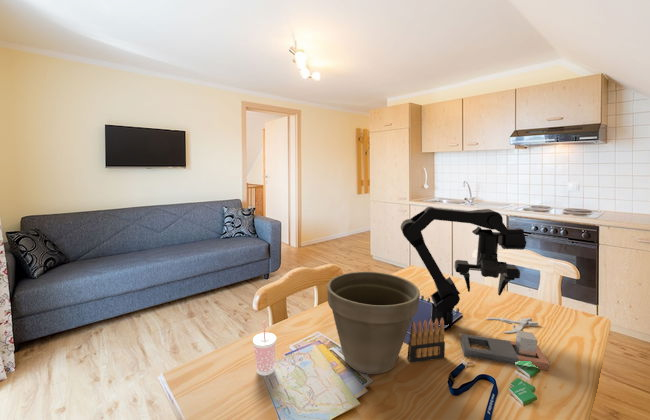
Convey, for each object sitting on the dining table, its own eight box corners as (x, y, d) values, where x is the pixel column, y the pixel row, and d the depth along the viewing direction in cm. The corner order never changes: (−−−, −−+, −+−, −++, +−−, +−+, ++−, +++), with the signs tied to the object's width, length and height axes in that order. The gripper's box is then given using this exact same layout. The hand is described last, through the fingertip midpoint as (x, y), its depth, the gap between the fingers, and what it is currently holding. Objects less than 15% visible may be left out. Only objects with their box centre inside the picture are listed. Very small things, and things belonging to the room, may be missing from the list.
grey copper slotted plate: (463, 356, 90) (464, 349, 89) (460, 339, 98) (460, 333, 98) (548, 370, 83) (549, 363, 83) (537, 351, 92) (537, 345, 92)
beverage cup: (256, 362, 86) (255, 315, 84) (278, 362, 86) (277, 315, 84) (251, 377, 80) (249, 326, 78) (274, 377, 80) (273, 327, 78)
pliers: (485, 315, 111) (523, 313, 113) (485, 319, 111) (523, 317, 113) (504, 330, 101) (546, 327, 103) (504, 334, 102) (545, 331, 103)
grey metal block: (518, 360, 88) (520, 337, 87) (514, 352, 91) (516, 330, 90) (534, 363, 87) (537, 340, 85) (530, 355, 90) (532, 332, 89)
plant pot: (395, 331, 103) (397, 268, 100) (433, 382, 79) (438, 301, 76) (320, 338, 99) (320, 272, 95) (336, 394, 74) (337, 309, 71)
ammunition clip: (441, 354, 90) (443, 315, 89) (444, 358, 89) (447, 318, 87) (407, 358, 88) (408, 319, 86) (410, 362, 86) (412, 322, 85)
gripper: (459, 252, 97) (456, 299, 99) (528, 257, 91) (522, 307, 94) (455, 243, 107) (452, 286, 110) (517, 248, 102) (512, 293, 104)
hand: (483, 293), depth 104 cm, fingers open, 9 cm apart
